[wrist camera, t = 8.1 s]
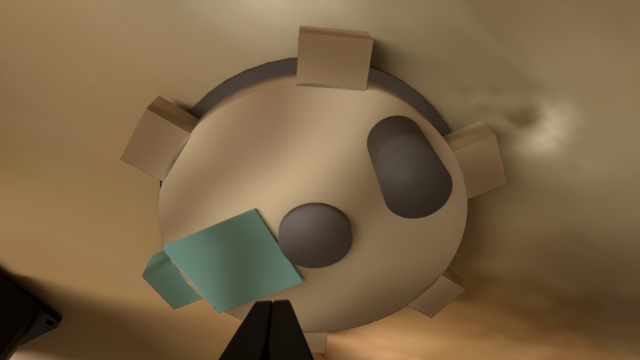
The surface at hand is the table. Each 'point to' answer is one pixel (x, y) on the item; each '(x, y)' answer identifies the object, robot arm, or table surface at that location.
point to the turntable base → (290, 67)
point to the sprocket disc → (312, 194)
